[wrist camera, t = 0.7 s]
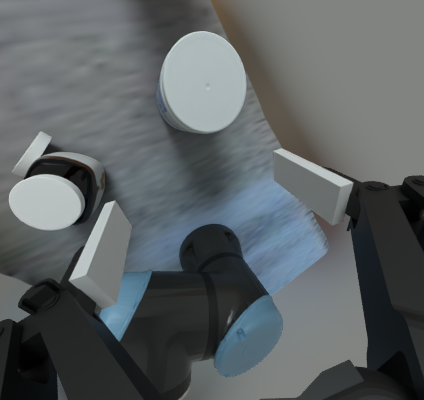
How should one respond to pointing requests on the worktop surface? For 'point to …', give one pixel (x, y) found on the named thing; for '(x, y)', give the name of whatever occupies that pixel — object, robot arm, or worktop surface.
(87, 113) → the worktop surface
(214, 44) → the supplement tub
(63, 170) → the spread jar
